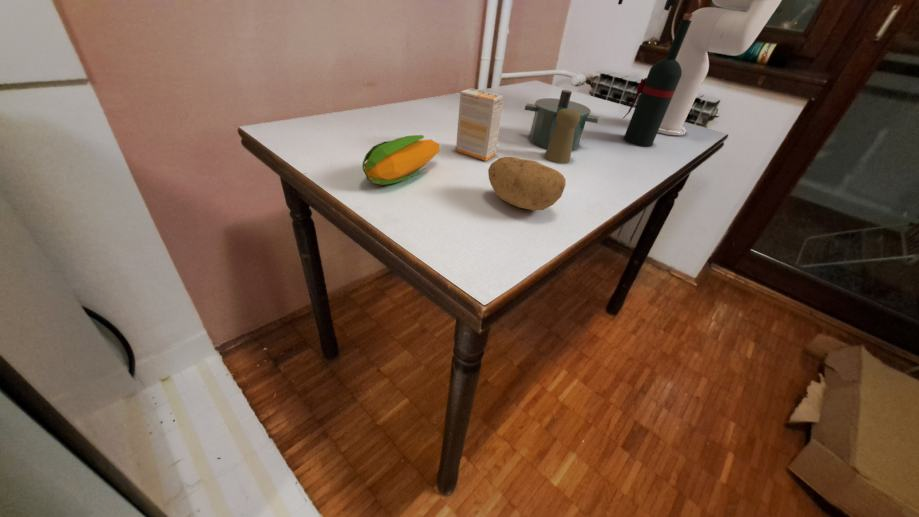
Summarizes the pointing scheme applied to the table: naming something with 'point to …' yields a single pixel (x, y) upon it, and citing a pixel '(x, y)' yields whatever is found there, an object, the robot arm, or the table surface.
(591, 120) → the pot
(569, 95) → the pot lid
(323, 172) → the table surface
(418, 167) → the corn
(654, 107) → the wine bottle
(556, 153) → the cork
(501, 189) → the potato
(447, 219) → the table surface
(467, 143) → the supplement box
